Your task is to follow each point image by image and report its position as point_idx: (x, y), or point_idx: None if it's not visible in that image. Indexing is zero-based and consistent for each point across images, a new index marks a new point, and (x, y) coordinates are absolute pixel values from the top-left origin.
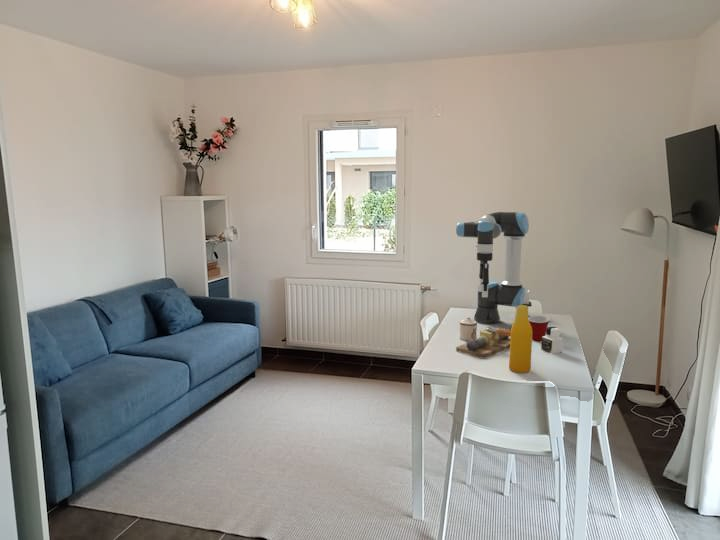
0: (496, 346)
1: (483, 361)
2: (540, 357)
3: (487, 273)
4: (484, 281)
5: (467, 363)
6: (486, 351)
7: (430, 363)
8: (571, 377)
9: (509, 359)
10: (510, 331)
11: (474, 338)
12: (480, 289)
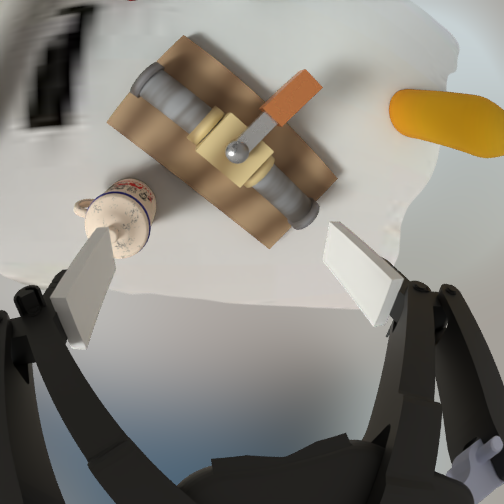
0: None
1: (353, 181)
2: (321, 20)
3: (485, 367)
4: (445, 329)
5: (362, 222)
6: (314, 166)
7: None
8: (432, 35)
9: (415, 137)
10: (307, 79)
11: (146, 186)
12: (109, 270)
